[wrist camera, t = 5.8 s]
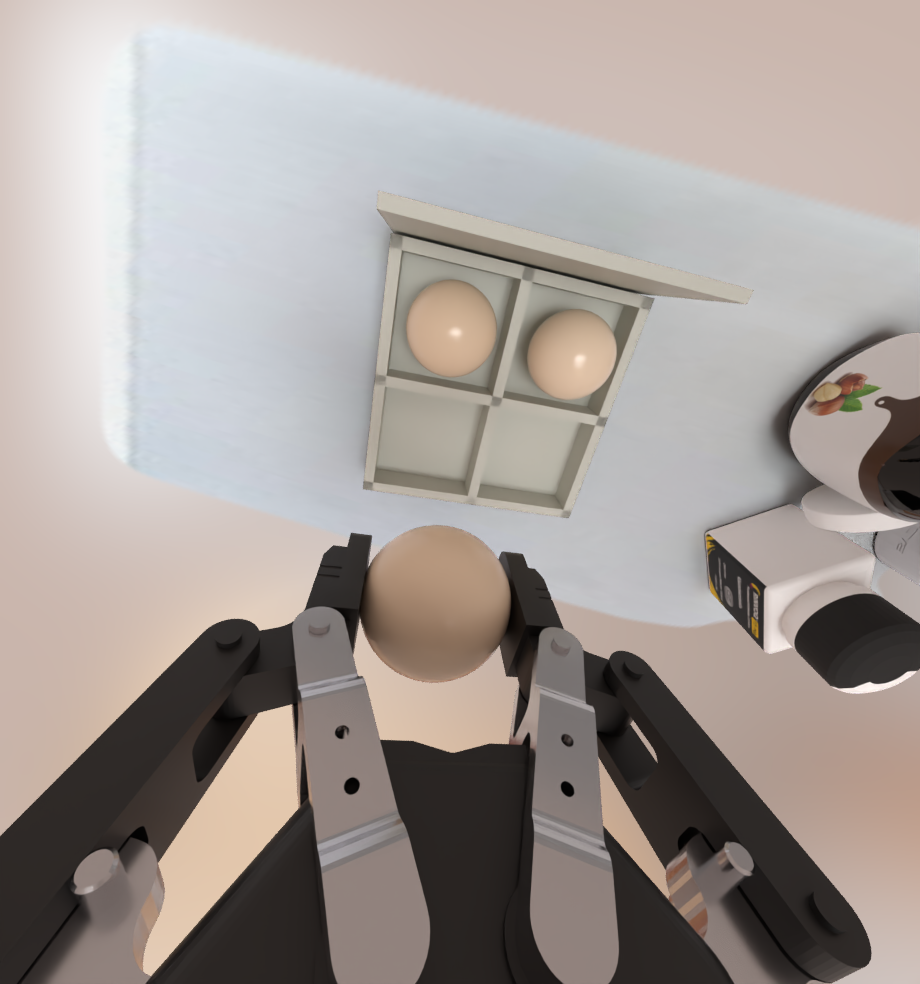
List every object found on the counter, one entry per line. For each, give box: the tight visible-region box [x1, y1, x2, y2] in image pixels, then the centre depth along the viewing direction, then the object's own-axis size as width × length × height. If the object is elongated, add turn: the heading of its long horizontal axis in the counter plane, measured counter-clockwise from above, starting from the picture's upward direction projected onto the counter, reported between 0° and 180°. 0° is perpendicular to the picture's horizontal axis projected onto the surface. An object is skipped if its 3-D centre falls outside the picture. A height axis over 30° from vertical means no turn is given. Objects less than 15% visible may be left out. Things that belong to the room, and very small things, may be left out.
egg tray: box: [363, 191, 754, 518], centre depth 22 cm, size 14×15×10 cm
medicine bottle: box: [705, 504, 920, 694], centre depth 29 cm, size 7×7×12 cm
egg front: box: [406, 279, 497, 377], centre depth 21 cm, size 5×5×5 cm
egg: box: [360, 525, 511, 683], centre depth 13 cm, size 5×5×5 cm
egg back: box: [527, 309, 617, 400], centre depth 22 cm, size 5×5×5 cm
